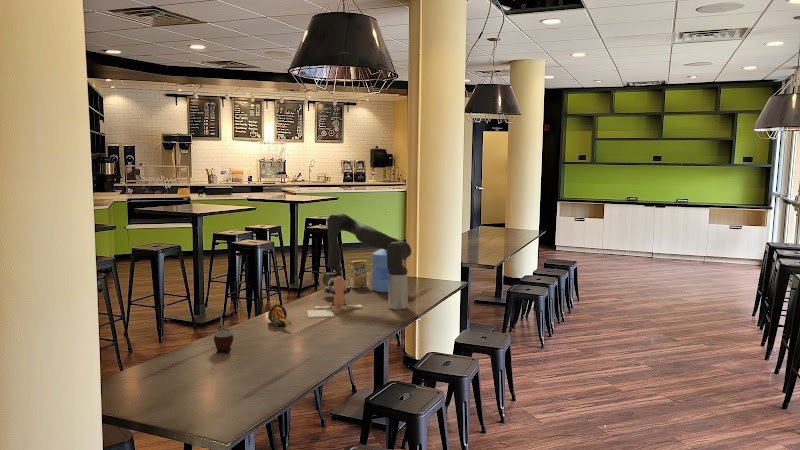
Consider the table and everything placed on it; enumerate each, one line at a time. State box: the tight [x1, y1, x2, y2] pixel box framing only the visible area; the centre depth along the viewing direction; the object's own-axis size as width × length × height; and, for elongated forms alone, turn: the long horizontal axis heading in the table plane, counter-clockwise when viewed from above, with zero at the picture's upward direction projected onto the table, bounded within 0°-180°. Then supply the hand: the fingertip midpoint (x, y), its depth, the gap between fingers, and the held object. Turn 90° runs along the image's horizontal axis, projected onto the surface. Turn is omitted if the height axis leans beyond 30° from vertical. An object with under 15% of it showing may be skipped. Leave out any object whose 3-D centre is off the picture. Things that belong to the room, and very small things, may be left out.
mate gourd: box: [213, 316, 234, 354], centre depth 239 cm, size 8×8×15 cm
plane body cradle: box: [314, 301, 364, 312], centre depth 310 cm, size 23×9×2 cm, turn 102°
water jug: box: [371, 248, 389, 293], centre depth 353 cm, size 16×16×28 cm
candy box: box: [349, 259, 368, 289], centre depth 360 cm, size 9×4×15 cm, turn 118°
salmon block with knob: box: [333, 276, 345, 306], centre depth 309 cm, size 4×4×16 cm
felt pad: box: [306, 309, 335, 319], centre depth 298 cm, size 12×12×1 cm
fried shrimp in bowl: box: [267, 303, 293, 327], centre depth 278 cm, size 9×11×18 cm
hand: (339, 292), depth 307 cm, fingers closed on salmon block with knob, 4 cm apart
